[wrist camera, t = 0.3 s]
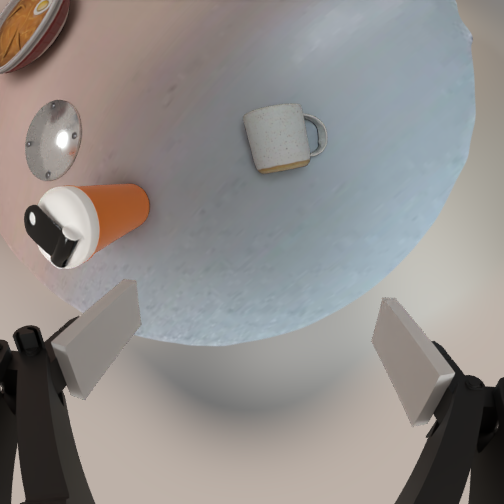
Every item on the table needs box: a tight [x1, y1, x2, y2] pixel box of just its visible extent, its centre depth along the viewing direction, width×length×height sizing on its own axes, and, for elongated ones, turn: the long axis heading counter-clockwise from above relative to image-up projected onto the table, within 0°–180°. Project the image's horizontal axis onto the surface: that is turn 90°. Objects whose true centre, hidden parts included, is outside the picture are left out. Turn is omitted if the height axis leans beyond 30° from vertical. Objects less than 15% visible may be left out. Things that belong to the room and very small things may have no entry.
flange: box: [25, 100, 82, 181], centre depth 39 cm, size 15×15×1 cm
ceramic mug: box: [243, 104, 327, 174], centre depth 34 cm, size 11×8×8 cm
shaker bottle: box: [24, 184, 150, 269], centre depth 32 cm, size 9×9×20 cm
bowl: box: [0, 0, 70, 74], centre depth 27 cm, size 23×23×10 cm
